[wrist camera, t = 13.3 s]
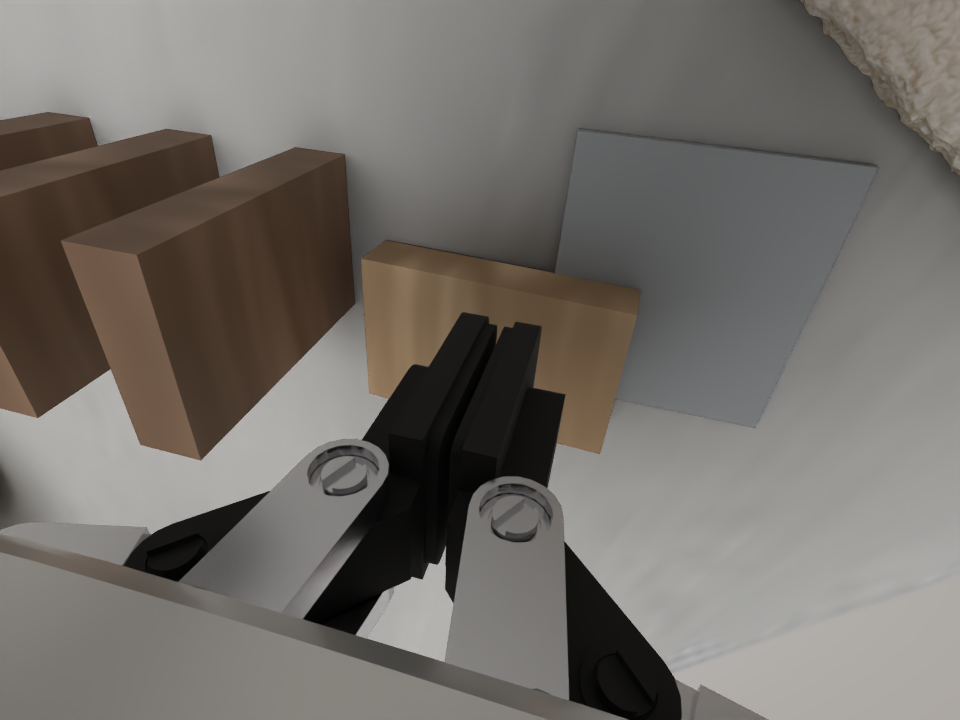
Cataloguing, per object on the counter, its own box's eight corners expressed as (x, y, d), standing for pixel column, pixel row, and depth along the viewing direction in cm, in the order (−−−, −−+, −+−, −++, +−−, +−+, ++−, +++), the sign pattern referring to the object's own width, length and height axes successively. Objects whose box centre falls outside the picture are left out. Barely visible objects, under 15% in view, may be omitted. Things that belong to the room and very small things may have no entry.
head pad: (874, 164, 13) (878, 167, 12) (753, 422, 17) (755, 428, 17) (578, 128, 14) (577, 130, 14) (538, 378, 18) (536, 382, 18)
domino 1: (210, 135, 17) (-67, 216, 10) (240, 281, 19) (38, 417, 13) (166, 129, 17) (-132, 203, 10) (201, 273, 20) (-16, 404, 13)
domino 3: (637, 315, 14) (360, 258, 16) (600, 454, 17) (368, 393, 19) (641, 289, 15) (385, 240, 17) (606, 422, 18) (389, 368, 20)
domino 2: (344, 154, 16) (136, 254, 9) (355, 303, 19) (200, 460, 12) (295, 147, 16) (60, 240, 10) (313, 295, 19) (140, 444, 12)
